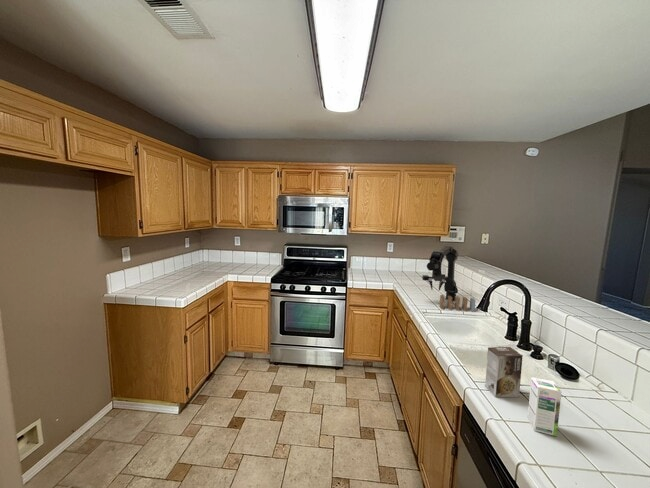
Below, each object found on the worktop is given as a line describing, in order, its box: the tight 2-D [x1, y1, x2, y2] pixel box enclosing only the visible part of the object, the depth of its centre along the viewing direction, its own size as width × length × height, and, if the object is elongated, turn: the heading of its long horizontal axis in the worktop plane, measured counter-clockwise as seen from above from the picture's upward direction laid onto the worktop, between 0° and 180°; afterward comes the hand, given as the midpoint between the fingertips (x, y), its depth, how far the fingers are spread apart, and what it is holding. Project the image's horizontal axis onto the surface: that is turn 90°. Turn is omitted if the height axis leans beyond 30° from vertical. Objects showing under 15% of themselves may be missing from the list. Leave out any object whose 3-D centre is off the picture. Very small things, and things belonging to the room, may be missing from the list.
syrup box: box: [527, 377, 562, 437], centre depth 81 cm, size 6×6×14 cm
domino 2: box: [446, 296, 453, 311], centre depth 188 cm, size 2×5×9 cm, turn 167°
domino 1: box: [439, 294, 446, 310], centre depth 189 cm, size 2×5×9 cm, turn 168°
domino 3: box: [453, 295, 461, 312], centre depth 187 cm, size 2×5×9 cm, turn 168°
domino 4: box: [461, 296, 469, 312], centre depth 186 cm, size 2×5×9 cm, turn 168°
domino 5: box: [469, 297, 476, 313], centre depth 185 cm, size 2×5×9 cm, turn 167°
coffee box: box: [484, 346, 523, 398], centre depth 98 cm, size 9×6×16 cm
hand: (435, 290), depth 189 cm, fingers open, 5 cm apart
